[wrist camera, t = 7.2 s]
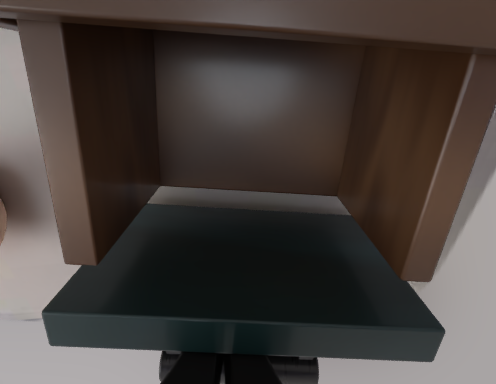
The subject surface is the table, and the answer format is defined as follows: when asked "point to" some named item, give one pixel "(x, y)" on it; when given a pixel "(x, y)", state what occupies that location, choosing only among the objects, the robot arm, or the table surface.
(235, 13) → the cabinet
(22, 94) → the table surface
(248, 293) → the drawer
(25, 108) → the table surface
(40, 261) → the table surface
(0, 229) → the egg
